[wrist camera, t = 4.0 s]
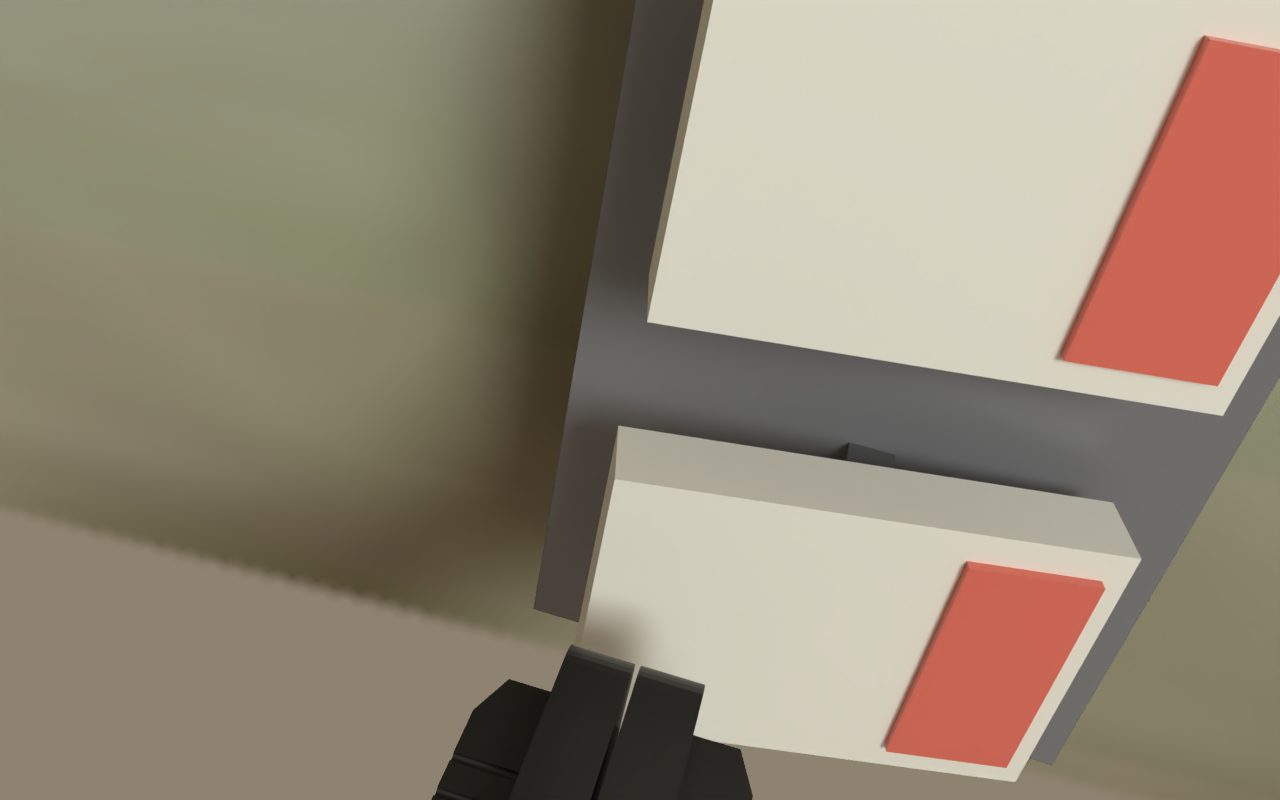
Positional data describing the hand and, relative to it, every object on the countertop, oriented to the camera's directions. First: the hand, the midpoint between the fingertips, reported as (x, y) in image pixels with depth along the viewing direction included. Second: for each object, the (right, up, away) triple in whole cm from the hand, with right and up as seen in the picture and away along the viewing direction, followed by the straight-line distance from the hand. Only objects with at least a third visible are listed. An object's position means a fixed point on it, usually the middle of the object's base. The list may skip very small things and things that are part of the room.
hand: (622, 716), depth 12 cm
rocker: (+3, +1, +2) cm, 3 cm away
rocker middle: (+4, +6, -2) cm, 7 cm away
